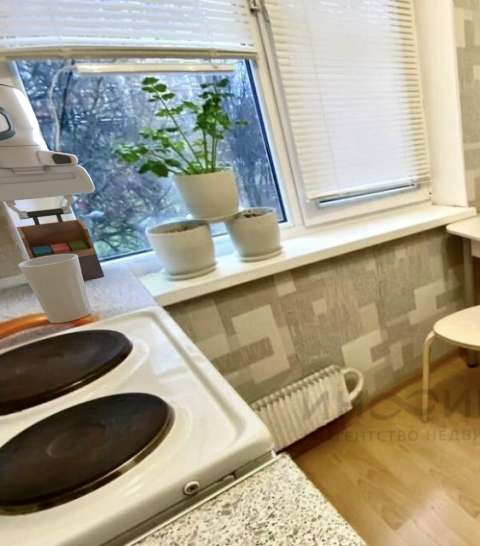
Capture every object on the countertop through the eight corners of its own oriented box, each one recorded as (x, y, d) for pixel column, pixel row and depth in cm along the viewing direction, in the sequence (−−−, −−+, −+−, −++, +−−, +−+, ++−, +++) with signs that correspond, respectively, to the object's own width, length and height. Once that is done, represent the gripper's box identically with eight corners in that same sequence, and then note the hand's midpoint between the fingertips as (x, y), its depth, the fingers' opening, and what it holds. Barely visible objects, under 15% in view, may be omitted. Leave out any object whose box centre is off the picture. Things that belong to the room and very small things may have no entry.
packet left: (36, 258, 99) (34, 253, 99) (33, 252, 102) (31, 247, 101) (53, 255, 101) (51, 251, 101) (49, 249, 104) (48, 245, 103)
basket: (32, 265, 97) (15, 224, 93) (26, 251, 103) (10, 212, 99) (96, 254, 105) (83, 215, 101) (87, 242, 111) (74, 205, 107)
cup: (105, 311, 87) (85, 256, 83) (53, 327, 80) (29, 268, 76) (86, 305, 90) (66, 252, 86) (35, 320, 83) (10, 263, 79)
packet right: (72, 252, 104) (71, 248, 103) (69, 246, 106) (67, 242, 106) (88, 249, 106) (86, 245, 105) (84, 244, 108) (82, 239, 108)
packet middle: (55, 255, 101) (53, 250, 101) (51, 249, 104) (49, 244, 104) (71, 252, 103) (69, 248, 103) (67, 246, 106) (65, 242, 106)
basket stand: (42, 288, 99) (32, 265, 97) (38, 280, 105) (28, 257, 103) (104, 276, 107) (96, 254, 105) (97, 268, 113) (89, 247, 111)
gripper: (-47, 162, 89) (-18, 226, 94) (85, 156, 104) (104, 211, 109) (-47, 161, 92) (-19, 222, 97) (80, 154, 107) (99, 208, 112)
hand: (47, 216), depth 103 cm, fingers closed on basket, 6 cm apart
